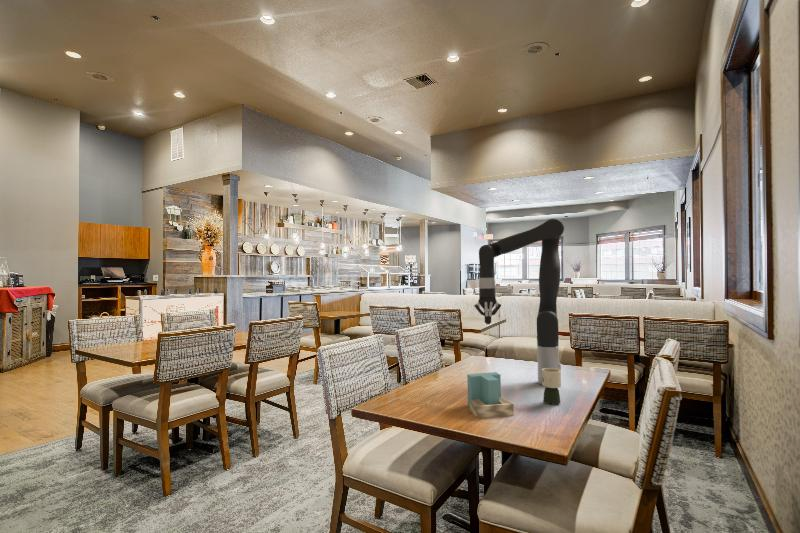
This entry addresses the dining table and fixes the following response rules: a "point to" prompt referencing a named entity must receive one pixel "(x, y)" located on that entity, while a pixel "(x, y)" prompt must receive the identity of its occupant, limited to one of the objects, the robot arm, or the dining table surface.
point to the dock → (491, 408)
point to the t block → (484, 387)
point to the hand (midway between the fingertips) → (487, 324)
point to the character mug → (551, 385)
